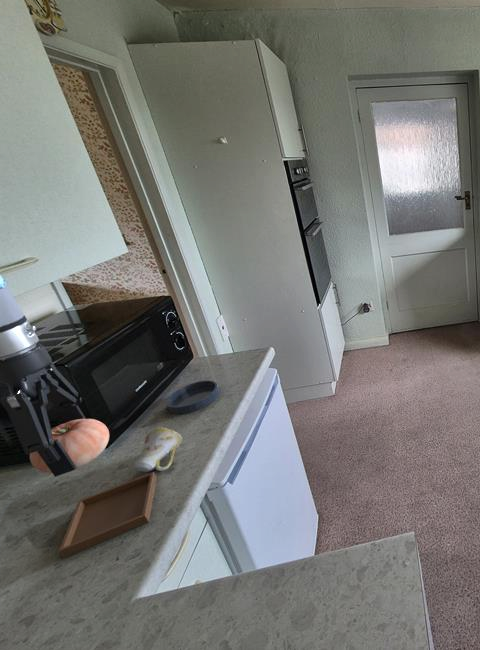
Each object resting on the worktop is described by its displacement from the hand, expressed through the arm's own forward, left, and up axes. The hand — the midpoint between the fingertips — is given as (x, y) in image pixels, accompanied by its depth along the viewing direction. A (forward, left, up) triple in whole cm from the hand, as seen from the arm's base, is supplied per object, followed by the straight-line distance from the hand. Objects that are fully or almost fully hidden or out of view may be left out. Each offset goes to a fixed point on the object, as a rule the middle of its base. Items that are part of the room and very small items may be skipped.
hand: (75, 451), depth 72 cm
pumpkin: (0, 0, -2) cm, 2 cm away
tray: (0, 0, -17) cm, 17 cm away
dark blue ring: (+13, +37, -17) cm, 43 cm away
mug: (+7, +13, -17) cm, 22 cm away
